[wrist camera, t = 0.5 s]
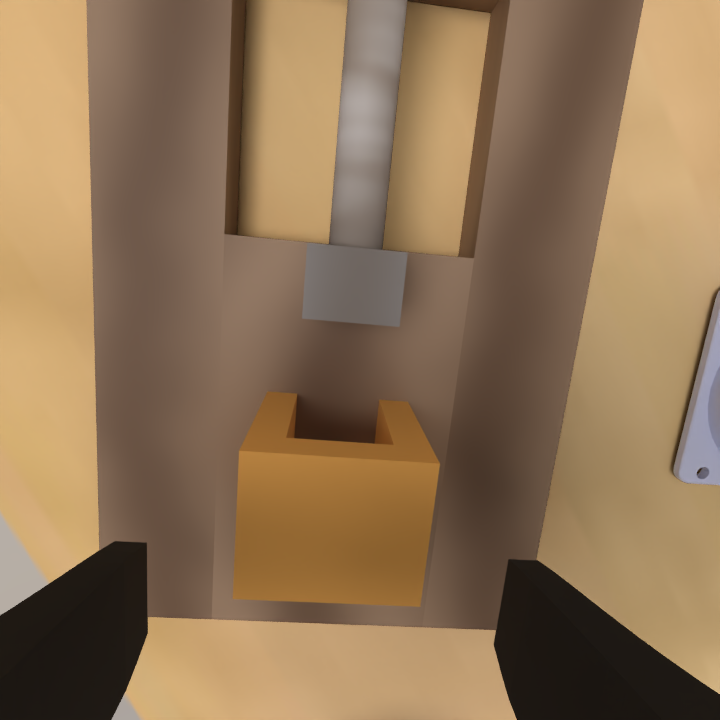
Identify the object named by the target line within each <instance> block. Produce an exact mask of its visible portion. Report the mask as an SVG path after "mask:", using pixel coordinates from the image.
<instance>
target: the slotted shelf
mask: <svg viewBox="0 0 720 720" xmlns="http://www.w3.org/2000/svg"><path fill="white" fill-rule="evenodd" d="M407 1H412V2H420V3H427V4H434V5H441V6H449V7H456V8H463V9H471V10H478V11H485V12H491V17H490V24H489V32H488V39H487V47H486V54H485V62H484V69H483V77H482V84H481V92H480V99H479V107H478V114H477V121H476V129H475V136H474V144H473V151H472V159H471V166H470V174H469V181H468V189H467V196H466V204H465V211H464V219H463V226H462V234H461V241H460V249H459V256H458V257H453V256H443V255H433V254H423V253H412V252H402V251H392V250H382V247H383V237H384V227H385V218H386V208H387V198H388V188H389V178H390V168H391V158H392V148H393V138H394V128H395V118H396V108H397V98H398V89H399V79H400V69H401V59H402V49H403V39H404V29H405V19H406V9H407ZM643 1H644V0H348V6H347V19H346V31H345V44H344V57H343V70H342V83H341V96H340V109H339V121H338V134H337V147H336V160H335V173H334V186H333V199H332V211H331V224H330V237H329V244H320V243H310V242H300V241H289V240H279V239H269V238H259V237H248V236H238V235H237V221H238V195H239V169H240V143H241V116H242V90H243V64H244V38H245V12H246V0H87V40H88V83H89V125H90V168H91V210H92V253H93V295H94V338H95V380H96V423H97V465H98V508H99V550H101V549H102V548H104V547H106V546H107V545H109V544H111V543H112V542H114V541H124V542H146V543H147V610H148V617H165V618H192V619H219V620H245V621H272V622H298V623H325V624H351V625H378V626H404V627H431V628H457V629H484V630H496V629H497V623H498V617H499V611H500V605H501V600H502V594H503V588H504V582H505V576H506V570H507V565H508V559H517V560H536V558H537V552H538V547H539V542H540V537H541V532H542V526H543V521H544V516H545V511H546V506H547V500H548V495H549V490H550V485H551V480H552V474H553V469H554V464H555V459H556V454H557V448H558V443H559V438H560V433H561V428H562V422H563V417H564V412H565V407H566V402H567V396H568V391H569V386H570V381H571V376H572V370H573V365H574V360H575V355H576V350H577V344H578V339H579V334H580V329H581V324H582V318H583V313H584V308H585V303H586V298H587V292H588V287H589V282H590V277H591V272H592V266H593V261H594V256H595V251H596V246H597V240H598V235H599V230H600V225H601V220H602V214H603V209H604V204H605V199H606V194H607V188H608V183H609V178H610V173H611V168H612V162H613V157H614V152H615V147H616V142H617V136H618V131H619V126H620V121H621V116H622V110H623V105H624V100H625V95H626V90H627V84H628V79H629V74H630V69H631V64H632V58H633V53H634V48H635V43H636V38H637V32H638V27H639V22H640V17H641V12H642V6H643ZM267 391H268V392H282V393H295V394H297V405H296V420H295V435H294V438H297V439H312V440H327V441H342V442H357V443H372V444H375V435H376V425H377V416H378V407H379V400H390V401H404V402H408V403H409V405H410V407H411V409H412V411H413V412H414V414H415V416H416V418H417V420H418V422H419V424H420V426H421V428H422V430H423V432H424V434H425V436H426V438H427V440H428V441H429V443H430V445H431V447H432V449H433V451H434V453H435V455H436V457H437V459H438V461H439V463H440V467H439V475H438V482H437V489H436V496H435V504H434V511H433V518H432V525H431V532H430V540H429V547H428V554H427V561H426V569H425V576H424V583H423V590H422V598H421V605H420V607H413V606H389V605H365V604H340V603H316V602H291V601H267V600H242V599H233V579H234V556H235V533H236V510H237V487H238V463H239V450H240V448H241V446H242V444H243V442H244V439H245V437H246V435H247V433H248V431H249V429H250V427H251V425H252V423H253V421H254V419H255V417H256V414H257V412H258V410H259V408H260V406H261V404H262V402H263V400H264V398H265V396H266V394H267Z"/></svg>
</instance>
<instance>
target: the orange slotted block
mask: <svg viewBox="0 0 720 720" xmlns="http://www.w3.org/2000/svg"><path fill="white" fill-rule="evenodd" d="M296 405H297V394H295V393H282V392H268V391H267V394H266V396H265V398H264V400H263V402H262V404H261V406H260V408H259V410H258V412H257V414H256V417H255V419H254V421H253V423H252V425H251V427H250V429H249V431H248V433H247V435H246V437H245V439H244V442H243V444H242V446H241V448H240V450H239V463H238V487H237V510H236V533H235V556H234V579H233V599H242V600H267V601H291V602H316V603H340V604H365V605H389V606H413V607H420V605H421V598H422V590H423V583H424V576H425V569H426V561H427V554H428V547H429V540H430V532H431V525H432V518H433V511H434V504H435V496H436V489H437V482H438V475H439V467H440V463H439V461H438V459H437V457H436V455H435V453H434V451H433V449H432V447H431V445H430V443H429V441H428V440H427V438H426V436H425V434H424V432H423V430H422V428H421V426H420V424H419V422H418V420H417V418H416V416H415V414H414V412H413V411H412V409H411V407H410V405H409V403H408V402H404V401H390V400H379V407H378V416H377V425H376V435H375V444H372V443H357V442H342V441H327V440H312V439H297V438H294V435H295V420H296Z"/></svg>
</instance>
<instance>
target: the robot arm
mask: <svg viewBox="0 0 720 720" xmlns="http://www.w3.org/2000/svg"><path fill="white" fill-rule="evenodd" d="M700 468H702V470H701V472H700V473H698V474H697V471H698V470H699V469H700ZM673 472H674V475H675V476H676V477H677V478H678V479H679V480H681V481H682V482H685V483H693V484H708V485H720V291H719V292H718V294H717V296H716V300H715V304H714V308H713V312H712V316H711V320H710V324H709V328H708V332H707V336H706V340H705V344H704V348H703V352H702V356H701V360H700V364H699V368H698V372H697V376H696V380H695V384H694V388H693V392H692V396H691V400H690V404H689V408H688V412H687V416H686V420H685V424H684V428H683V432H682V436H681V440H680V444H679V448H678V452H677V456H676V460H675V464H674V470H673ZM147 634H148V610H147V543H146V542H124V541H114V542H112V543H111V544H109V545H107V546H106V547H104V548H102V549H101V550H99V551H98V552H96V553H95V554H93V555H92V556H90V557H89V558H87V559H86V560H84V561H83V562H81V563H80V564H78V565H77V566H75V567H74V568H72V569H71V570H69V571H68V572H66V573H65V574H63V575H62V576H60V577H59V578H57V579H56V580H54V581H53V582H51V583H50V584H48V585H47V586H45V587H44V588H42V589H41V590H39V591H38V592H36V593H34V594H33V595H31V596H30V597H28V598H27V599H25V600H24V601H22V602H21V603H19V604H18V605H16V606H15V607H13V608H12V609H10V610H8V611H7V612H5V613H4V614H2V615H1V616H0V720H111V719H112V717H113V715H114V713H115V711H116V709H117V707H118V705H119V703H120V701H121V699H122V697H123V695H124V693H125V691H126V689H127V686H128V684H129V681H130V679H131V676H132V674H133V671H134V669H135V666H136V664H137V661H138V658H139V655H140V653H141V650H142V647H143V645H144V642H145V639H146V636H147ZM494 647H495V651H496V655H497V659H498V662H499V666H500V670H501V674H502V677H503V680H504V684H505V687H506V691H507V694H508V697H509V700H510V703H511V706H512V708H513V711H514V713H515V716H516V718H517V720H720V694H718V693H717V692H715V691H714V690H712V689H711V688H709V687H708V686H706V685H705V684H703V683H702V682H700V681H699V680H697V679H696V678H695V677H693V676H692V675H690V674H689V673H687V672H686V671H685V670H683V669H682V668H680V667H679V666H678V665H676V664H675V663H673V662H672V661H670V660H669V659H668V658H666V657H665V656H663V655H662V654H660V653H659V652H658V651H656V650H655V649H654V648H652V647H651V646H650V645H648V644H647V643H646V642H644V641H643V640H641V639H640V638H639V637H637V636H636V635H635V634H633V633H632V632H631V631H629V630H628V629H627V628H626V627H624V626H623V625H622V624H620V623H619V622H618V621H616V620H615V619H614V618H613V617H611V616H610V615H609V614H607V613H606V612H605V611H603V610H602V609H601V608H600V607H598V606H597V605H596V604H595V603H593V602H592V601H591V600H589V599H588V598H587V597H586V596H584V595H583V594H582V593H580V592H579V591H578V590H577V589H575V588H574V587H573V586H572V585H570V584H569V583H568V582H566V581H565V580H564V579H562V578H561V577H560V576H559V575H557V574H556V573H555V572H553V571H552V570H551V569H549V568H548V567H546V566H545V565H543V564H542V563H541V562H539V561H538V560H517V559H508V565H507V570H506V576H505V582H504V588H503V594H502V600H501V605H500V611H499V617H498V623H497V629H496V634H495V640H494Z"/></svg>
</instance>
